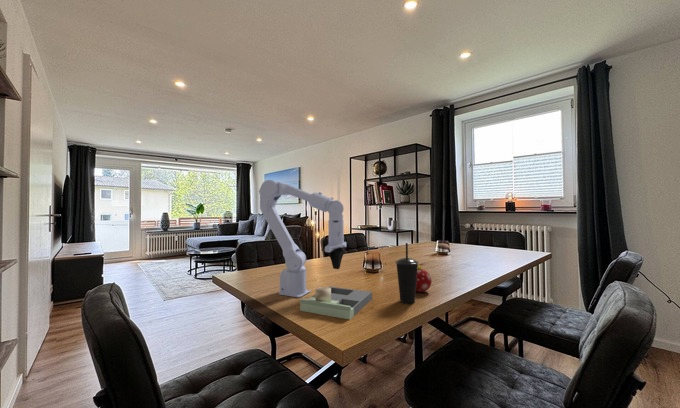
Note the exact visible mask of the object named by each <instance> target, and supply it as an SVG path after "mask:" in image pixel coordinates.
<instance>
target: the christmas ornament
mask: <svg viewBox="0 0 680 408" xmlns="http://www.w3.org/2000/svg"><path fill="white" fill-rule="evenodd" d="M431 286H432V277H431V275H430V273H429V272H428V271H426V270H425V269H422V266H421V265H419V264H418V266H417V280H416V292H417V293H424V292H426V291H428V290H429V289H430V288H431Z"/></svg>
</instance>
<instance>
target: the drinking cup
mask: <svg viewBox="0 0 680 408" xmlns="http://www.w3.org/2000/svg"><path fill="white" fill-rule="evenodd" d="M408 251H409V243H408V242H405V257H402V258H399V259H397V260H396V261H395V264H396V271H397V272H396V273H397V281H398V290H399V291H398V293H399V300H400V303H402V304H408V305H412V304H415V303H416V292H417V291H416V280H417V269H418V267H419V266H418V265H419V261H417V260H416V259H414V258H411V257H409V252H408Z"/></svg>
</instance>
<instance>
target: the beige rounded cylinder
mask: <svg viewBox="0 0 680 408" xmlns="http://www.w3.org/2000/svg"><path fill="white" fill-rule="evenodd" d="M314 290H315V293H314V295H315V299H316V301H322V302H329V303H331V288H329V286H319V287H316V288H315V289H314Z"/></svg>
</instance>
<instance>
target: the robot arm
mask: <svg viewBox="0 0 680 408" xmlns="http://www.w3.org/2000/svg"><path fill="white" fill-rule="evenodd" d="M258 192H259V209H260V212H261V214H262V216H263V217H264V218H265V220H266V222H267V224H268V227H269V228H270V230H271V231H272V233H273V235H274V237H275V239H276V241H277V242H278V245H279V246H280V248H281V250H282V255H283V258H284V262H285V267H286V268H284V269H282V271H281V272H280V275H279V292H278V295H280V296H288V297H291V298H292V297H294V298H301V297H304V296H305V295H308V294H309V293H311V289H307V274H306V273H307V268H306V267H305V264H306V263H307V262H306V261H307V255H306V254H305V252H303V251H302V250H301V249H300V248H299V246H298V245H297V244H296V243H295V242H294V240H293V238H292V236H291V234H290V233H289V231H288V229H287V228H286V224H285V223H284V222H283V220H282V218H281V216H280V214H279V213H278V211H277V209H276V205H277V203H278V200H279V199H280V198H281V197H282V196H289V195H290V196H292V197H295V198H297V199H300V200H303V201H305V202H307V203H308V204H309V206H310V207H312V208H313V209H317V210H319V211H321V212H323V213H326V212H327V213H328V224H327V225H328V244H327V245H326V246H324V252H325V253H327V254H328V256H329V258H330V261H331V266H332V268H333V269H334V270H340V268H341V266H342V265H341V264H342V259H343V258H344V257H343V256H344V254H345V253H346V249H345V248H347V241H344V238H345V237H344V235H345V234H344V233H345V230H344V229H345V228H344V225H345V224H344V214H343V212H344V205H343V203H342V202H341V201H339V200H336V199H335V200H334V197H328V196H326V195H324V194H323V192H321V191H318V192H317V191H315V192H312V193H309V192H307V191H305V190H303V189H300V188H298V187H295V186H293V185H291V184H287V183H284V182H280V181H275V180H273V179H267V180H265V181H263V182H262V184H261V185H260V187H259V190H258ZM333 269H332V270H333Z"/></svg>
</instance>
